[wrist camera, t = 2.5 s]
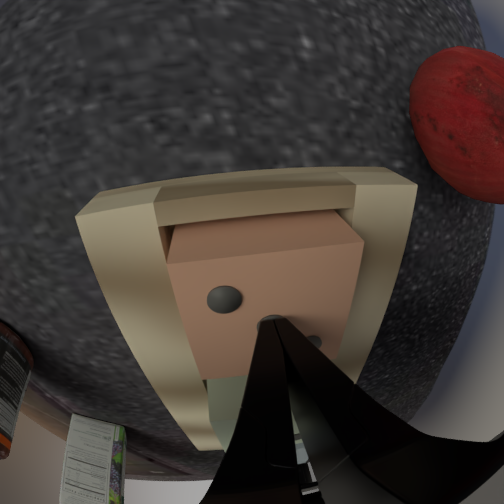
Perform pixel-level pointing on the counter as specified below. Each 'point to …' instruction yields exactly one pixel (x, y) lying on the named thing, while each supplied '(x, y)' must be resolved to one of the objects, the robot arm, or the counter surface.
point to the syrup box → (93, 463)
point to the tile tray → (230, 206)
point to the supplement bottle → (11, 383)
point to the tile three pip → (262, 282)
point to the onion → (462, 119)
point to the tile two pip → (229, 407)
